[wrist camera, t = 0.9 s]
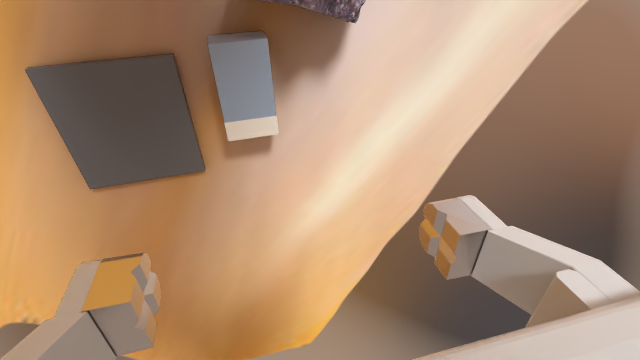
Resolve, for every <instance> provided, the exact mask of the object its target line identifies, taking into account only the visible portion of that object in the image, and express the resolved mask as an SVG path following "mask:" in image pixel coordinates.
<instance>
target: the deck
mask: <svg viewBox="0 0 640 360" xmlns="http://www.w3.org/2000/svg"><path fill="white" fill-rule="evenodd" d="M208 49H209V53H210V58H211V63H212V67H213V72H214V77H215V81H216V86H217V90H218V95H219V100H220V104H221V109H222V114H223V118H224V124H225V129H226V133H227V138H228V141H235V140H242V139H249V138H256V137H262V136H269V135H276V134H279V132H278V123H277V115H276V108H275V99H274V91H273V82H272V73H271V64H270V56H269V47H268V39H267V37H266V35H265V33H264V32H263V31H255V32H244V33H232V34H221V35H209V36H208Z"/></svg>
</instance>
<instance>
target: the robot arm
mask: <svg viewBox="0 0 640 360" xmlns="http://www.w3.org/2000/svg"><path fill="white" fill-rule="evenodd" d="M423 215H424V216H425V217H426V219H425V220H424V221H423V222H422V223H421V225H420V231H419V235H420V241H421V243H422V246H423V248H424V249H425V250H426V252H427V253H428V254H431V255H432V256H434V257H435V264H436V266H437V267H438V269H439V270H440V271H441V273H442V274H443V276H444V277H445V278H446V280H448V279H453V278H458V277H463V276H468V275H472V277H474V278H476V279H477V280H478V281H480V282H481V283H483V284H484V285H486V286H488V287H489V288H491V289H492V290H494V291H495V292H497V293H498V294H500V295H502V296H503V297H505V298H506V299H508V300H509V301H511V302H513V303H514V304H516V305H517V306H519V307H521V308H522V309H523V310H525V311H527V312H528V313H530V314H531V315H532V316H531V318H530V320H529V322H528V323H527V325H526V328H524V329H520V330H517V331H513V332H509V333H506V334H502V335H499V336H495V337H491V338H488V339H484V340H480V341H477V342H473V343H470V344H466V345H462V346H459V347H455V348H452V349H448V350H445V351H441V352H437V353H434V354H430V355H426V356H423V357H419V358H416V359H412V360H640V291H638V290H637V289H636V288H634V287H633V286H632V285H630V284H629V283H628V282H627V281H626V280H624V279H623V278H622V277H620V276H619V275H618V274H617V273H615V272H614V271H613V270H612V269H610V268H609V267H608V266H607V265H605V264H604V263H603V262H601V261H600V260H597V259H595V258H593V257H590V256H588V255H585V254H582V253H580V252H577V251H575V250H572V249H569V248H567V247H564V246H562V245H560V244H556V243H554V242H552V241H549V240H547V239H544V238H542V237H539V236H537V235H534V234H531V233H529V232H526V231H524V230H521V229H519V228H516V227H513V226H509V227H507V226H506V225H505V224H504V223H503V222H502V221H501V220H500V219H499V218H497V216H495V215H494V214H493V213H492V212H491V211H490V210H489V209H488V208H487V207H486V206H484V205H483V204H482V203H481V202H480V201H479V200H478V199H477V198H476V197H474V196H472V195H468V196H463V197H458V198H453V199H448V200H442V201H437V202H431V203H427V204H426V205H425V207H424V210H423ZM151 264H152V262H151V260H150V258H149V256H148V254H146V253H140V254H133V255H127V256H120V257H113V258H107V259H103V260H97V261H90V262H83V263H81V264H80V265H79V266H77V268H76V270H75V272H74V274H73V276H72V278H71V281H70V283H69V285H68V287H67V289H66V292H65V294H64V296H63V298H62V300H61V302H60V305H59V307H58V309H57V311H56V313H55V316H54V318H52V319H48V320H45V321H44V322H43V323H42V324H41V325H40V326H38V327H37V328H36V329H35V330H34V331H33V332H31V333H30V334H29V335H28V336H27V337H26V338H24V339H23V340H22V341H21V342H20V343H19V344H17V345H16V346H15V347H14V348H13V349H12V350H11V351H9V352H8V353H7V354H6V355H5V356H3V357H2V358H1V359H0V360H116V359H117V358H116V356H121V355H125V354H129V353H132V352H136V351H140V350H144V349H148V348H152V347H153V345H154V339H155V333H156V328H157V322H156V320H155V318H154V315H155V313H156V312H157V311H158V310H159V309H160V302H161V288H160V283H159V279H158V277H157V274H155V273H153V272H151V271H150V268H151Z"/></svg>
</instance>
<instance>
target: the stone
mask: <svg viewBox="0 0 640 360" xmlns="http://www.w3.org/2000/svg"><path fill="white" fill-rule="evenodd" d="M260 1H266V2H270V1H273V2H277V3H280V4H284V5H285V4H289V5H290V4H292V5H296V6H300V7H302V8H305V9H308V10H312V11H315V12H319V13H323V14H326V15H329V16H332V17H336V18H339V19H342V20H344V21H346V22H352V23H356V22H357V20H358V18H359V14H360V8H361V6H362V5H363V4H364V2H365V1H366V0H260Z"/></svg>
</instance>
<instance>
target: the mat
mask: <svg viewBox="0 0 640 360" xmlns="http://www.w3.org/2000/svg"><path fill="white" fill-rule="evenodd" d="M25 71H26V73H27V75H28V77H29V79H30V80H31V82H32V84H33V86H34V88H35V89H36V91H37V93H38V95H39V97H40V99H41V100H42V102H43V104H44V106H45V108H46V110H47V111H48V113H49V115H50V117H51V119H52V121H53V122H54V124H55V126H56V128H57V130H58V131H59V133H60V135H61V137H62V139H63V141H64V142H65V144H66V146H67V148H68V150H69V152H70V153H71V155H72V157H73V159H74V161H75V163H76V164H77V166H78V168H79V170H80V172H81V174H82V175H83V177H84V179H85V181H86V183H87V184H88V186H89V188H90V189H96V188H102V187H108V186H114V185H121V184H127V183H133V182H139V181H145V180H152V179H158V178H164V177H170V176H177V175H183V174H189V173H195V172H202V171H205V166H204V162H203V158H202V155H201V151H200V148H199V144H198V141H197V137H196V133H195V130H194V126H193V123H192V119H191V115H190V112H189V108H188V105H187V101H186V98H185V94H184V90H183V87H182V83H181V80H180V76H179V72H178V69H177V65H176V62H175V58H174V55H173V54H164V55H153V56H143V57H132V58H122V59H111V60H101V61H90V62H80V63H69V64H59V65H48V66H38V67H28V68H27V69H25Z"/></svg>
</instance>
